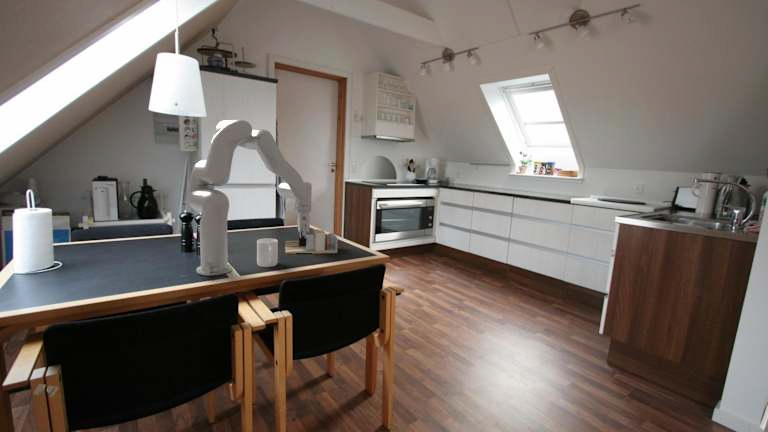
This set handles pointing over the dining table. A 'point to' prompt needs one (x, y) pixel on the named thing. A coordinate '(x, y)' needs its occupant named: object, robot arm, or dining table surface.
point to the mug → (267, 252)
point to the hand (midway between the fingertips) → (302, 245)
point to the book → (319, 239)
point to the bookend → (310, 242)
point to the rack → (330, 247)
